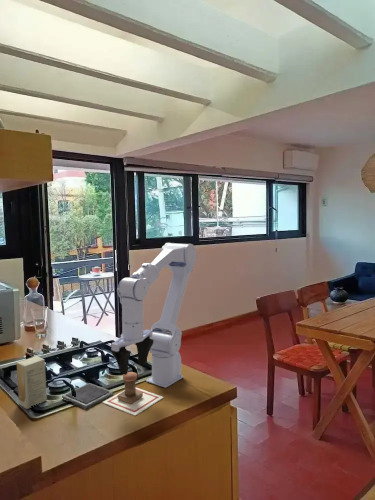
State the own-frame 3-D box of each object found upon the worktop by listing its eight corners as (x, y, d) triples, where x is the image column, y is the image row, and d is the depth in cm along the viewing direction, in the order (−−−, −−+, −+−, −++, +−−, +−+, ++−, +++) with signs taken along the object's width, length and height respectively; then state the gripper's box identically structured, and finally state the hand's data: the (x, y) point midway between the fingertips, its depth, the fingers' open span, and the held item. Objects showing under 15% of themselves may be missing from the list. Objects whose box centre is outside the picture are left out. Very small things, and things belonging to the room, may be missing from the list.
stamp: (129, 393, 113) (128, 369, 113) (142, 397, 111) (142, 373, 110) (117, 400, 109) (117, 376, 108) (131, 404, 107) (131, 380, 106)
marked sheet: (132, 386, 118) (132, 385, 118) (163, 397, 111) (163, 396, 111) (102, 403, 108) (102, 401, 108) (135, 416, 101) (135, 414, 101)
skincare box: (39, 396, 112) (37, 355, 111) (47, 400, 109) (46, 358, 108) (17, 404, 107) (15, 361, 106) (25, 409, 104) (23, 365, 103)
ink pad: (89, 386, 118) (89, 382, 118) (113, 395, 113) (113, 391, 113) (62, 399, 110) (62, 395, 110) (86, 409, 105) (86, 405, 104)
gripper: (139, 313, 116) (139, 357, 117) (102, 325, 104) (103, 374, 105) (157, 317, 112) (158, 362, 113) (122, 329, 100) (123, 380, 101)
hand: (133, 368), depth 109 cm, fingers open, 7 cm apart
